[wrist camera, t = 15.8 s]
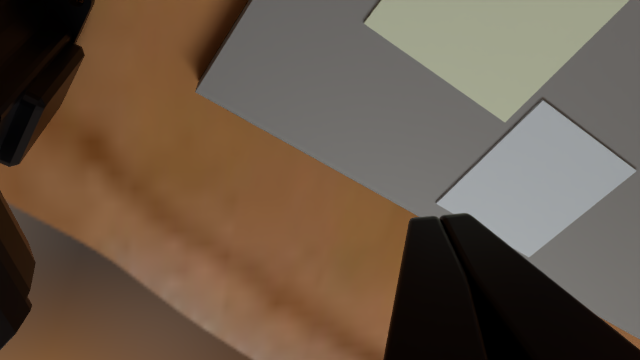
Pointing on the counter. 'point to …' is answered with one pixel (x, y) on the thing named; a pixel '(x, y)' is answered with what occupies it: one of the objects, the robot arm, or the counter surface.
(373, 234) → the counter surface
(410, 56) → the picture board
